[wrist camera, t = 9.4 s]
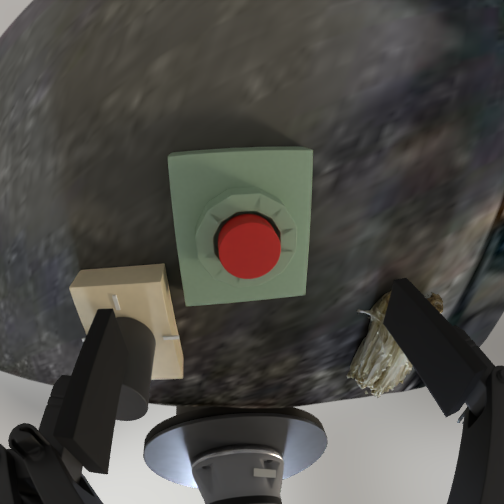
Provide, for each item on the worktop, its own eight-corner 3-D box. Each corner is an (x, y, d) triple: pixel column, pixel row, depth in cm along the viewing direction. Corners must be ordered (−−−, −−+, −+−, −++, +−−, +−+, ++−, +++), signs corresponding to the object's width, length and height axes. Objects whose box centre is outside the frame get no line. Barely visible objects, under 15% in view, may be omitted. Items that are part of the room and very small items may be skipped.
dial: (149, 315, 23) (136, 384, 17) (161, 358, 25) (155, 425, 19) (94, 317, 22) (68, 381, 16) (110, 359, 25) (95, 422, 18)
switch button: (275, 264, 22) (280, 276, 21) (219, 269, 22) (220, 281, 20) (275, 211, 20) (281, 220, 19) (215, 215, 20) (216, 224, 18)
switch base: (298, 282, 27) (311, 307, 24) (186, 292, 26) (185, 320, 23) (303, 146, 22) (322, 153, 19) (171, 152, 21) (163, 160, 17)
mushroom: (364, 280, 29) (390, 312, 24) (432, 278, 30) (460, 303, 25) (331, 379, 35) (346, 412, 30) (393, 368, 36) (411, 396, 31)
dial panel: (189, 356, 30) (189, 379, 27) (107, 359, 28) (101, 380, 26) (171, 262, 25) (168, 282, 22) (74, 270, 24) (62, 288, 21)
